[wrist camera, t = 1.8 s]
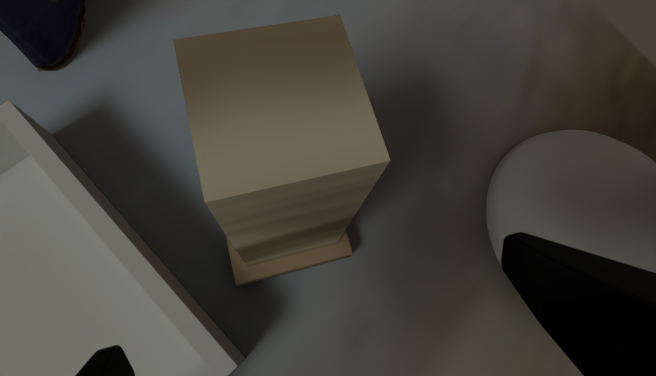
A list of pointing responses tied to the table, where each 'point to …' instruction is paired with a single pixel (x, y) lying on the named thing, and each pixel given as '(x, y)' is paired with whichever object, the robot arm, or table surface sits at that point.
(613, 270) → the robot arm
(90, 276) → the box
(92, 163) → the table surface
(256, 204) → the stepped wooden block
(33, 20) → the flask
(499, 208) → the flower in vase
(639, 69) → the table surface
